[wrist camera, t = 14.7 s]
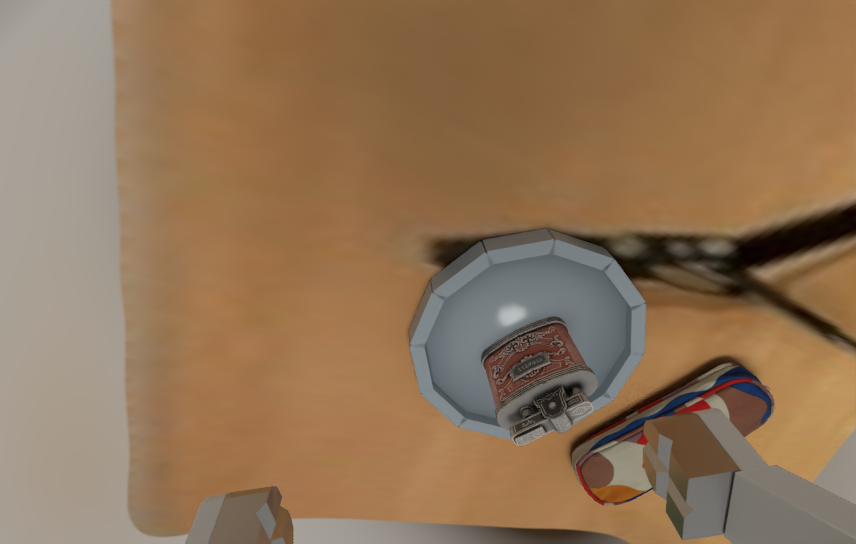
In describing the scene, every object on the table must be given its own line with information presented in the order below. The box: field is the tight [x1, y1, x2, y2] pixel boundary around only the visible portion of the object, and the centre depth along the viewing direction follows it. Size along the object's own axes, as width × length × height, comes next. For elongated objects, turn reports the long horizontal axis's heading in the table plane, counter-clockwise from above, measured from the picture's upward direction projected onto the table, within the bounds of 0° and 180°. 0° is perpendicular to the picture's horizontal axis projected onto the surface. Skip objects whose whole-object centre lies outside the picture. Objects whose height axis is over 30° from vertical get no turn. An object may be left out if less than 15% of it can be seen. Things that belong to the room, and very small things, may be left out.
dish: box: [409, 228, 646, 439], centre depth 44 cm, size 20×20×2 cm
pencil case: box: [571, 363, 775, 506], centre depth 49 cm, size 11×20×5 cm, turn 112°
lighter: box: [481, 316, 598, 446], centre depth 40 cm, size 8×3×10 cm, turn 120°
